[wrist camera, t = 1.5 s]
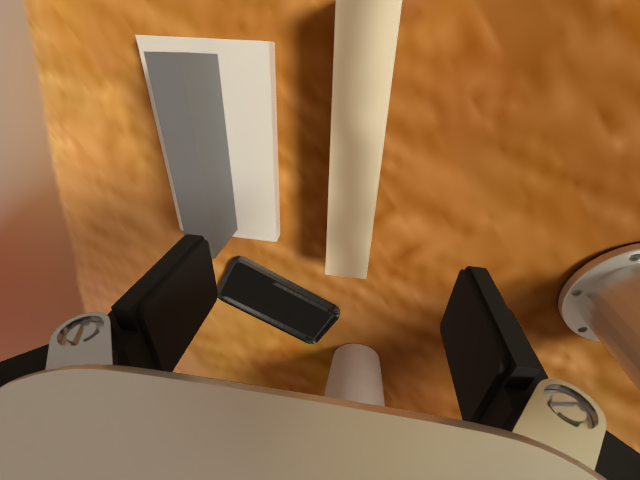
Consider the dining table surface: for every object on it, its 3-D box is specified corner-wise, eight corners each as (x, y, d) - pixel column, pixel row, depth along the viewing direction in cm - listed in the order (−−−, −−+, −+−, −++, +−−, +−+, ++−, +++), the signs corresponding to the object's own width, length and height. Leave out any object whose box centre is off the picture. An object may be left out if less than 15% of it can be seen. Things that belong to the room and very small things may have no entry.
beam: (398, -2, 22) (404, -16, 18) (367, 250, 33) (366, 278, 29) (343, -2, 22) (336, -16, 18) (331, 247, 34) (325, 274, 30)
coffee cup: (310, 345, 42) (283, 467, 30) (372, 327, 39) (371, 458, 26) (342, 385, 46) (330, 509, 33) (401, 372, 43) (414, 506, 30)
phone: (313, 346, 41) (213, 296, 39) (314, 339, 42) (217, 291, 40) (343, 312, 37) (233, 255, 35) (344, 306, 38) (237, 250, 36)
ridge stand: (274, 42, 24) (242, 37, 18) (280, 234, 34) (260, 272, 28) (147, 36, 25) (78, 29, 19) (187, 223, 35) (149, 258, 29)
